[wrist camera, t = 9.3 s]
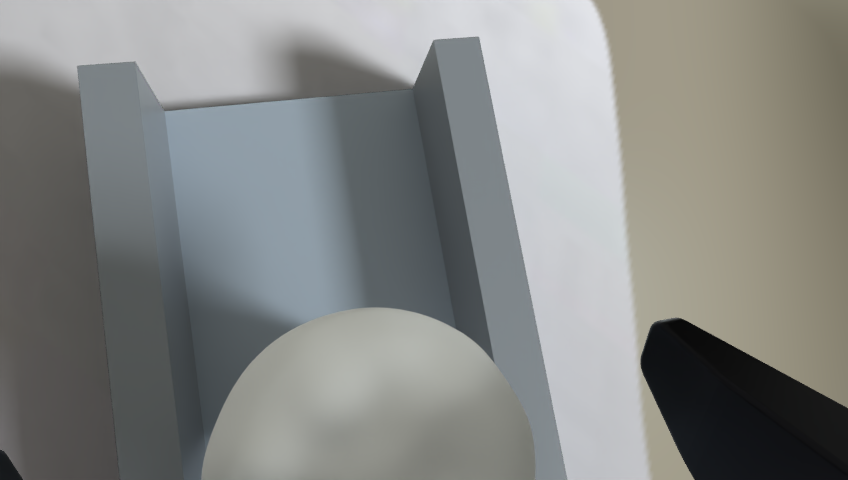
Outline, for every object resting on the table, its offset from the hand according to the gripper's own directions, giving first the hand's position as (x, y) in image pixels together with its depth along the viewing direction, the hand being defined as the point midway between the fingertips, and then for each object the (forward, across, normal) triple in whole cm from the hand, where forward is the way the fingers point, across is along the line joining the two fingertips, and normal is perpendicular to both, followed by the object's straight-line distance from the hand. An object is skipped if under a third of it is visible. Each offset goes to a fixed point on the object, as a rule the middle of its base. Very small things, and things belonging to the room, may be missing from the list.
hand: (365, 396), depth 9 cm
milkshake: (+5, 0, +7) cm, 8 cm away
